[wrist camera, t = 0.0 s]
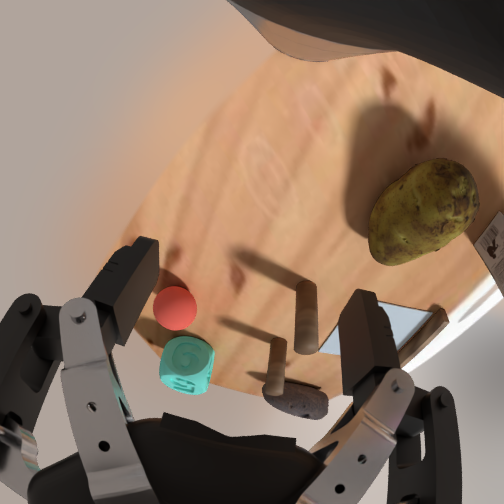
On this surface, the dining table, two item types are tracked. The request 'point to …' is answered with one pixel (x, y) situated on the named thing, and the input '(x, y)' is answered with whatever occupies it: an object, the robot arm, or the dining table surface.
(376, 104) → the dining table surface
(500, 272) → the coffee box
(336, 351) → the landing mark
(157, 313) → the ball
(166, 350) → the decorative dice
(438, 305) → the dining table surface
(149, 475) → the robot arm
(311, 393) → the perforated stone tool
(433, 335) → the stopper rail
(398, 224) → the potato
